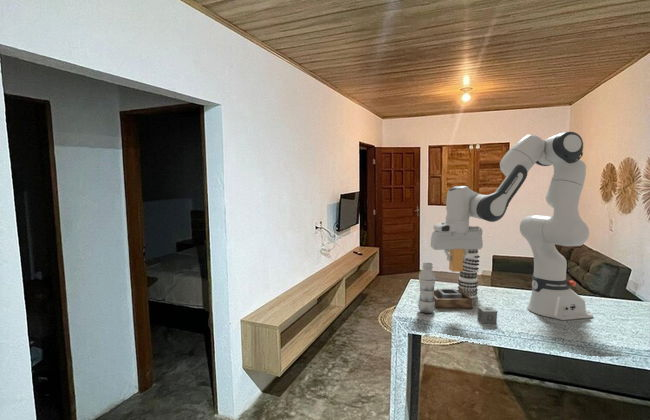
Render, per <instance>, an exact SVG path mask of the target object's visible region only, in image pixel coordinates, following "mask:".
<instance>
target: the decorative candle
mask: <svg viewBox="0 0 650 420" xmlns="http://www.w3.org/2000/svg"><path fill="white" fill-rule="evenodd" d="M463 253H464V251H463ZM480 257H481V255H479V249H471V250H469V251H468V254H467V255H466V257H465V260H463V272H459V277H458V278H459V279H458V283H457V284H458V286H457V290H461V291H462V292H464V293H465V294H466V295H467V296H469V297H470V298H471V299H476V298H477V297H478V294H479V293H478V289H479V288H478V287H479V286H478V283H479V281H478V272H479V270H480V269H479V267H478V266H479V265H480V260H479V258H480Z"/></svg>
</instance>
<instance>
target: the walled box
mask: <svg viewBox="0 0 650 420" xmlns="http://www.w3.org/2000/svg"><path fill="white" fill-rule="evenodd" d="M434 301H435V310H448V309H449V310H460V309H461V310H464V309H465V310H468V309H469V310H472V309H473V298H470V297H469V296H467V295H466V294H465V293H464V292H462V291H461V290H458V289H455V288H436V289H434Z"/></svg>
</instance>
